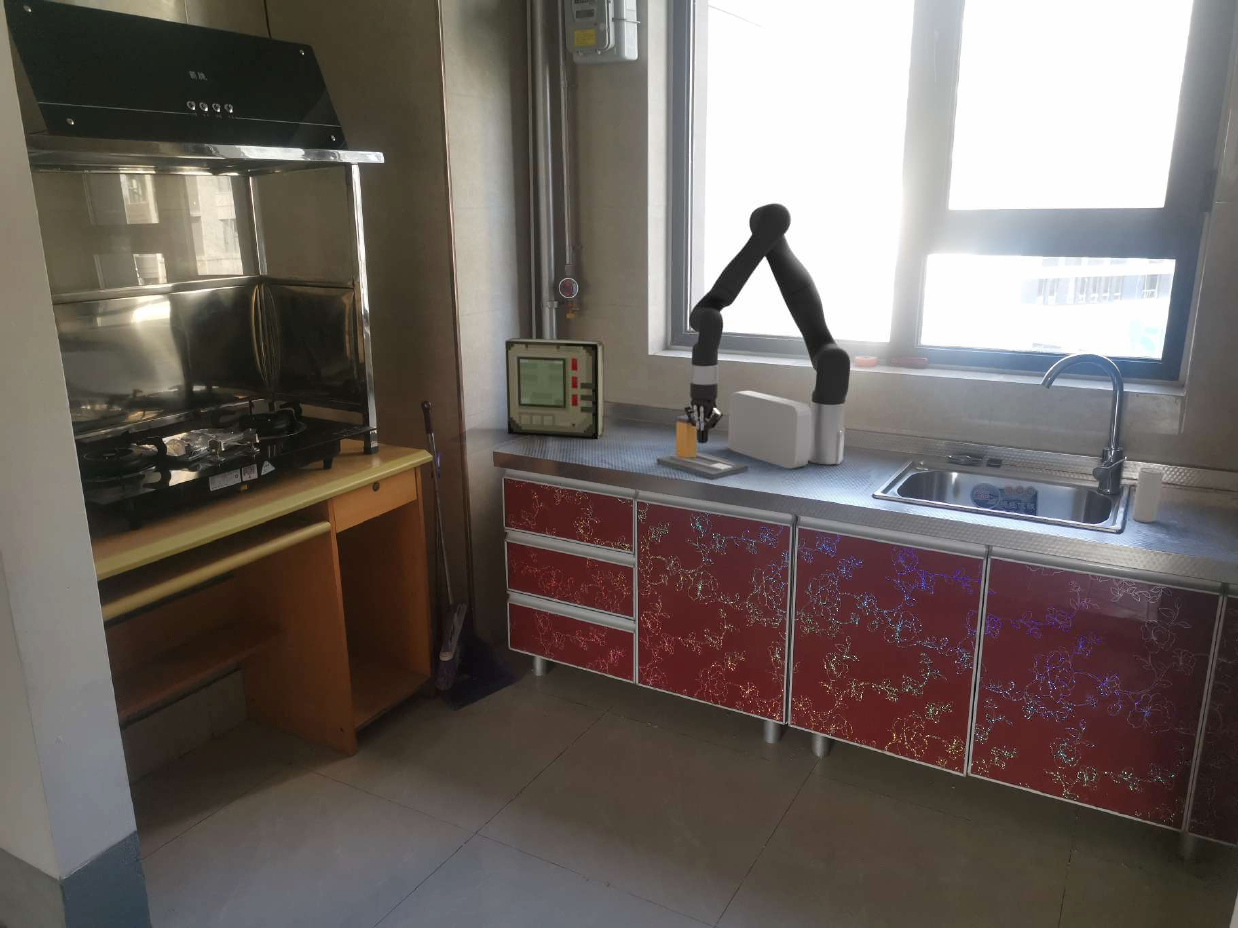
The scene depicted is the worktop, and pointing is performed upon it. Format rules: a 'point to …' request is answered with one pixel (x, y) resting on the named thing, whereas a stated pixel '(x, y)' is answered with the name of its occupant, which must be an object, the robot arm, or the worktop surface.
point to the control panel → (555, 387)
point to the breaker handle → (685, 437)
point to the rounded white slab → (769, 428)
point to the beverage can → (1147, 494)
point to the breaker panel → (703, 465)
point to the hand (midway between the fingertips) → (702, 442)
